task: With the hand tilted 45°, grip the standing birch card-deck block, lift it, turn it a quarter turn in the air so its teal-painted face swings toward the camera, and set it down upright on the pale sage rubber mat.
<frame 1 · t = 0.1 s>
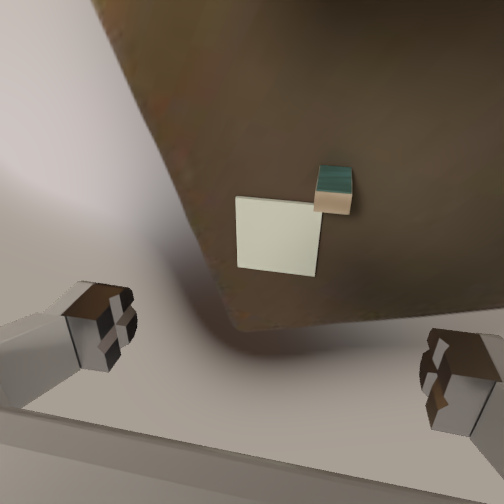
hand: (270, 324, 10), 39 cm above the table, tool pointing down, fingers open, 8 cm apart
sage mat: (277, 236, 55), on the table
card deck block: (334, 176, 48), on the table
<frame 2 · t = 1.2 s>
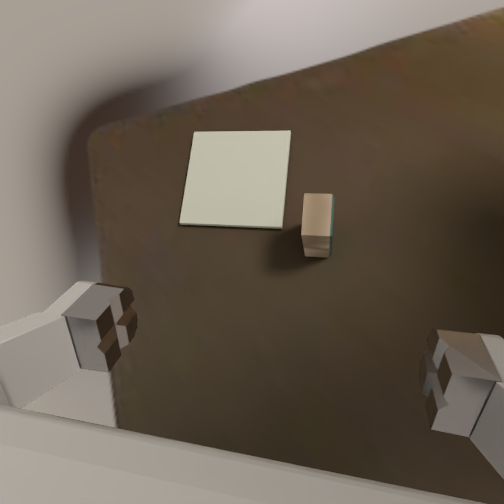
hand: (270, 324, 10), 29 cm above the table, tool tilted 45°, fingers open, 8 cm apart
sage mat: (236, 178, 44), on the table
card deck block: (318, 239, 40), on the table
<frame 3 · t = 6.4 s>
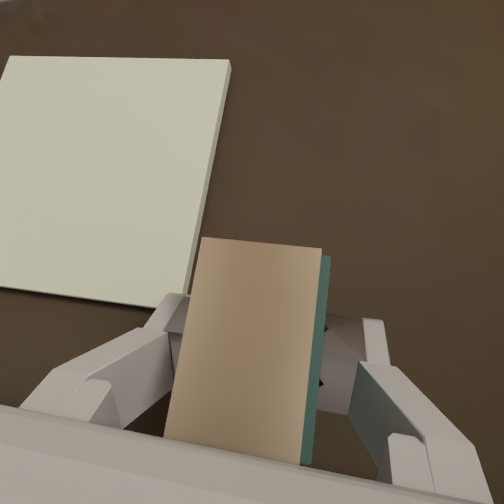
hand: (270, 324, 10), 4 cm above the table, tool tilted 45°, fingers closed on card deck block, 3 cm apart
sage mat: (88, 170, 18), on the table
card deck block: (277, 352, 14), on the table, touching gripper
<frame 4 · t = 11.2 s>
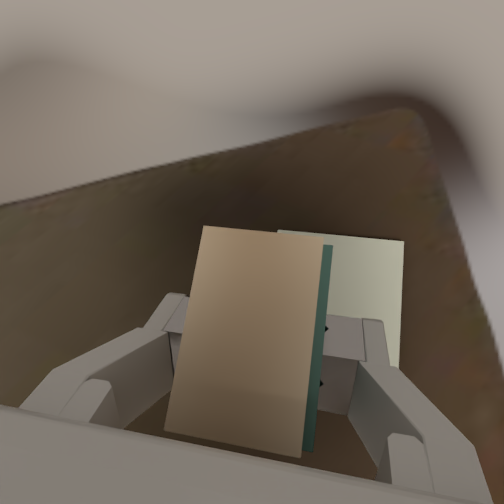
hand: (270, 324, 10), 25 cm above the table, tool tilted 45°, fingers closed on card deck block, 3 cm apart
sage mat: (333, 297, 35), on the table
card deck block: (277, 346, 14), point 21 cm above the table, touching gripper
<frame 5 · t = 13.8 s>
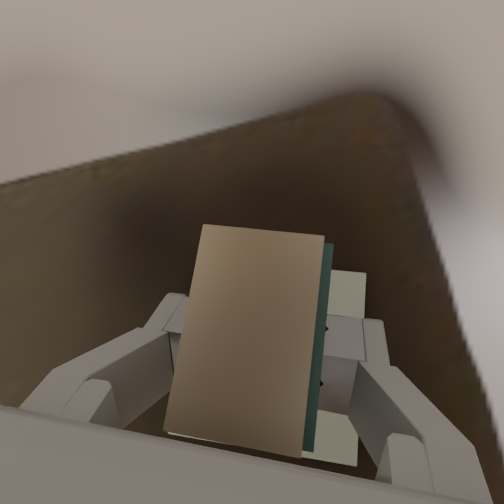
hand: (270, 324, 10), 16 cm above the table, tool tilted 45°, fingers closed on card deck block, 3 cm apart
sage mat: (270, 351, 26), on the table
card deck block: (277, 345, 14), point 12 cm above the table, touching gripper
when the fingers open (6 cm above the table, at t = 16.0 s): card deck block drops 1 cm, resting on sage mat.
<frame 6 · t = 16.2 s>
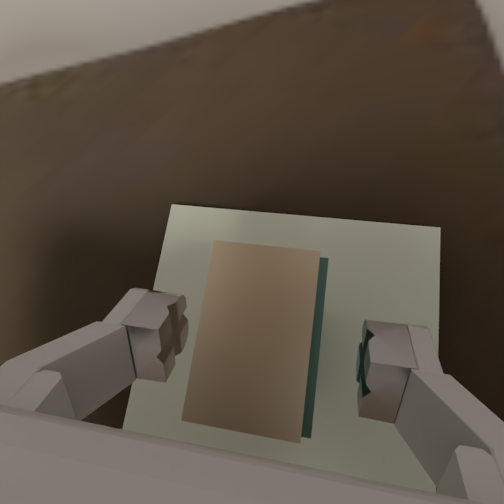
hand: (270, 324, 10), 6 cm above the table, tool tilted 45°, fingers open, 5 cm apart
sage mat: (281, 352, 16), on the table
card deck block: (278, 346, 15), point 1 cm above the table, touching sage mat
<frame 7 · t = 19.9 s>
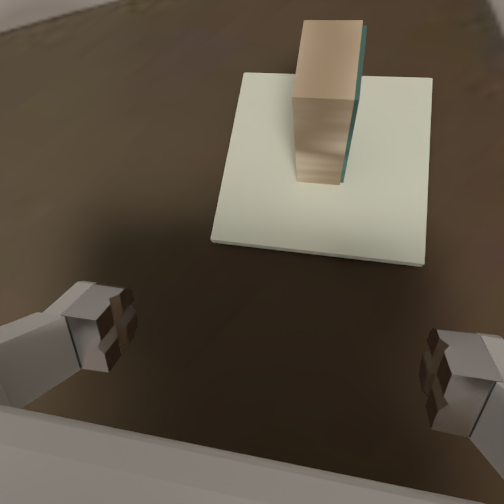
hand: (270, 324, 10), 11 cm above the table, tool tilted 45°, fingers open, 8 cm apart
sage mat: (323, 162, 23), on the table
card deck block: (321, 153, 23), point 1 cm above the table, touching sage mat
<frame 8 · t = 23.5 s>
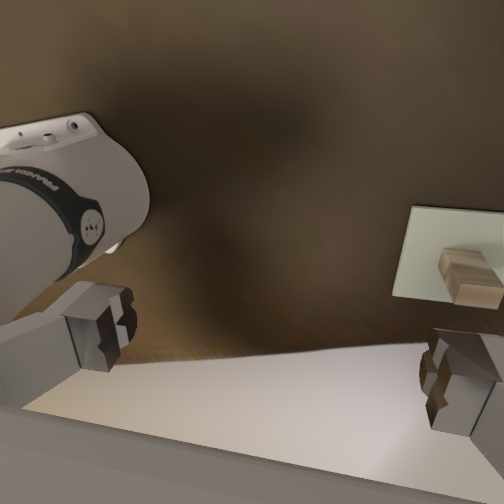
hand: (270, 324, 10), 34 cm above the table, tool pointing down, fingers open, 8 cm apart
sage mat: (454, 257, 44), on the table
card deck block: (458, 259, 43), point 1 cm above the table, touching sage mat
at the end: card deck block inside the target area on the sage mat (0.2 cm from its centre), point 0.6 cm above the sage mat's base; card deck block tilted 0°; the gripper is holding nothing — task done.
